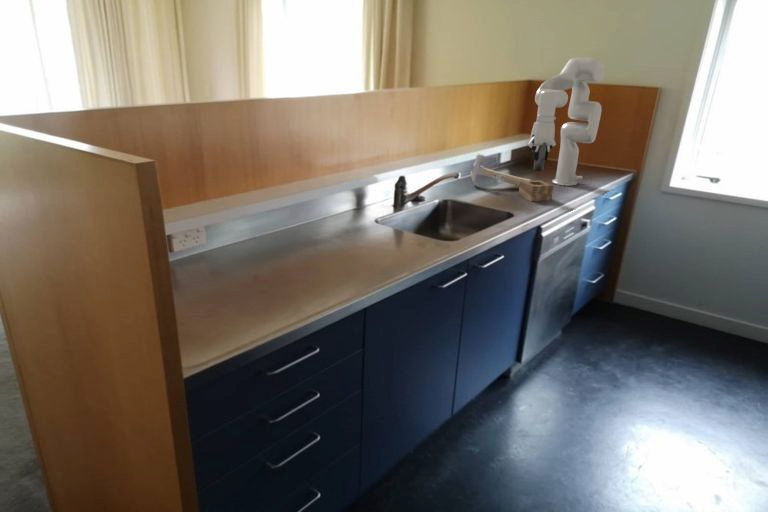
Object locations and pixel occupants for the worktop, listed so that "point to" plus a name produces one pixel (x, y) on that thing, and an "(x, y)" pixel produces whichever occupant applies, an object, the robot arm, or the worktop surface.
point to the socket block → (535, 190)
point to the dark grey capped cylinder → (540, 158)
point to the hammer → (492, 173)
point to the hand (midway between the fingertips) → (539, 159)
